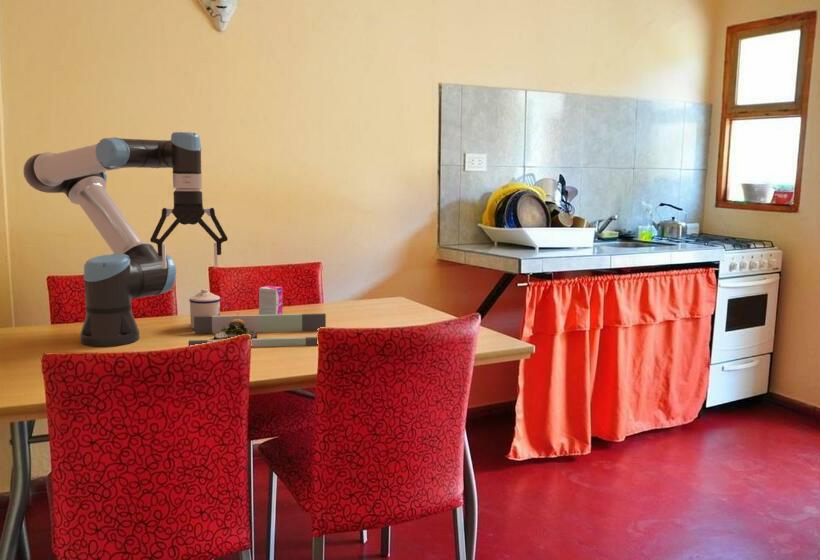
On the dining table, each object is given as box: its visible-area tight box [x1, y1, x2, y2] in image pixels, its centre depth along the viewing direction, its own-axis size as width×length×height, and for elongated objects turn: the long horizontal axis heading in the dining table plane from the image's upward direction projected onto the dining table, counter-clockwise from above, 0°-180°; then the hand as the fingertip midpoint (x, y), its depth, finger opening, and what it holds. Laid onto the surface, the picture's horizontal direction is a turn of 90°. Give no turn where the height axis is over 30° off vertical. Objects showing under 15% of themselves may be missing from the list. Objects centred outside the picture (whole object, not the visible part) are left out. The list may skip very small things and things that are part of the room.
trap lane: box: [188, 312, 327, 348], centre depth 204 cm, size 38×18×5 cm, turn 102°
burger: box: [213, 318, 258, 340], centre depth 203 cm, size 12×12×8 cm
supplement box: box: [258, 285, 284, 315], centre depth 224 cm, size 6×6×12 cm
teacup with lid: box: [188, 288, 221, 330], centre depth 218 cm, size 12×9×12 cm
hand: (190, 267), depth 199 cm, fingers open, 13 cm apart
